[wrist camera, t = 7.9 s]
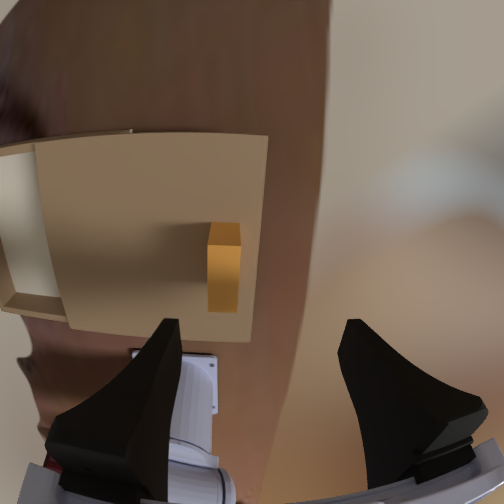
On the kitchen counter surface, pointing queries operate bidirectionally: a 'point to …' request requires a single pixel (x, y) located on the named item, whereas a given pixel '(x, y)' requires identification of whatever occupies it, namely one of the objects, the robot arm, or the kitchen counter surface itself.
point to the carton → (27, 235)
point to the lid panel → (155, 230)
